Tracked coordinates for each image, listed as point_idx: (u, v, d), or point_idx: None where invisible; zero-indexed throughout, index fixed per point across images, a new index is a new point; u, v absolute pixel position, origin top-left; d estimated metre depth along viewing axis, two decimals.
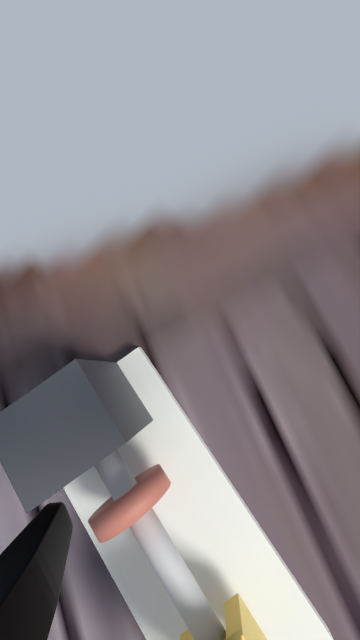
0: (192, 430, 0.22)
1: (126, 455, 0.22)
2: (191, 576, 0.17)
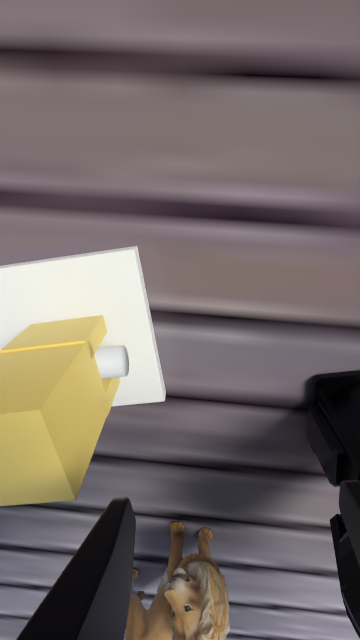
0: None
1: None
2: None
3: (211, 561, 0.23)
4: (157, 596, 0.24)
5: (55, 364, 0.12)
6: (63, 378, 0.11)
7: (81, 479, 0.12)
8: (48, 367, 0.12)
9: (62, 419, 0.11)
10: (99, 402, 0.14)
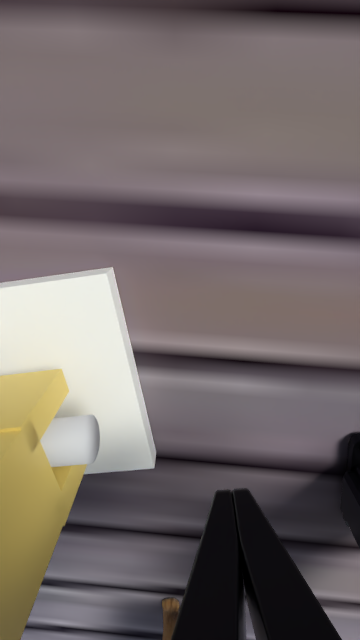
0: None
1: None
2: None
3: None
4: None
5: None
6: None
7: None
8: None
9: None
10: (48, 513, 0.09)
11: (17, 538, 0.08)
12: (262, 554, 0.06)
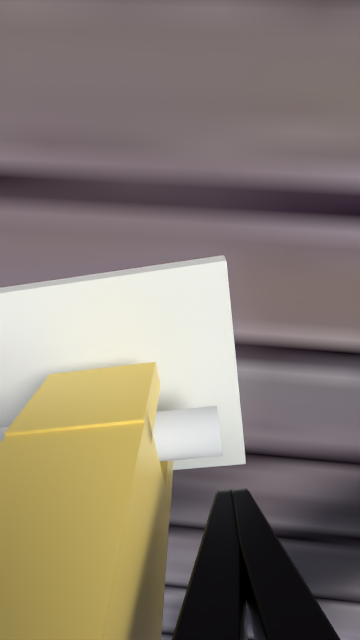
0: None
1: None
2: None
3: None
4: None
5: (104, 479, 0.07)
6: (126, 522, 0.06)
7: None
8: (93, 486, 0.07)
9: (129, 613, 0.05)
10: (162, 509, 0.09)
11: (151, 533, 0.08)
12: (261, 554, 0.06)
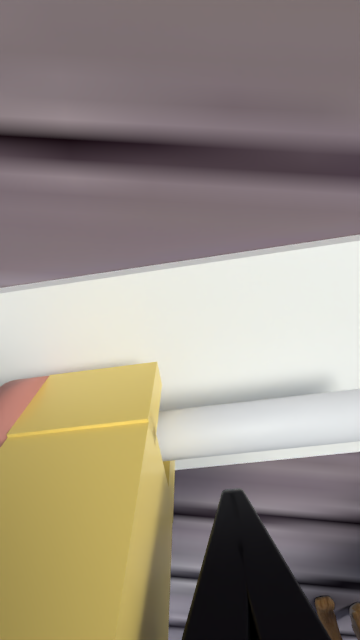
0: (6, 294, 0.12)
1: None
2: (178, 417, 0.10)
3: None
4: None
5: (110, 478, 0.07)
6: (134, 521, 0.06)
7: None
8: (100, 485, 0.07)
9: (139, 613, 0.05)
10: (166, 509, 0.09)
11: (157, 533, 0.08)
12: (254, 555, 0.06)
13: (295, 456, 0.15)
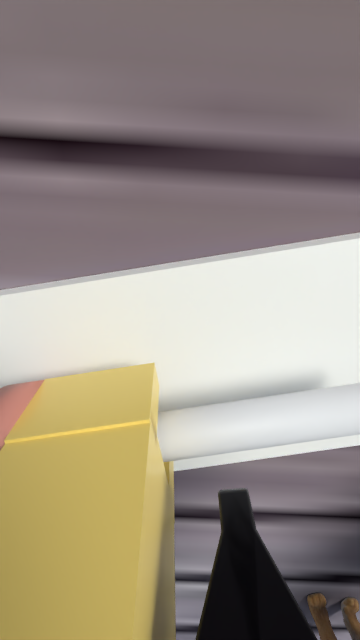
0: None
1: None
2: (177, 417, 0.10)
3: None
4: None
5: (115, 480, 0.07)
6: (143, 521, 0.06)
7: None
8: (105, 488, 0.07)
9: (151, 613, 0.05)
10: (168, 509, 0.09)
11: (162, 534, 0.08)
12: (244, 555, 0.06)
13: (290, 453, 0.15)
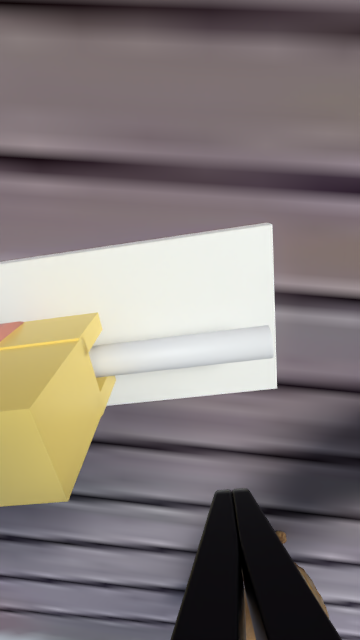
0: None
1: None
2: (107, 346, 0.15)
3: (296, 565, 0.22)
4: None
5: (48, 362, 0.12)
6: (55, 376, 0.11)
7: (74, 479, 0.11)
8: (41, 365, 0.12)
9: (54, 418, 0.10)
10: (94, 401, 0.14)
11: (80, 402, 0.13)
12: (262, 554, 0.06)
13: (212, 393, 0.20)
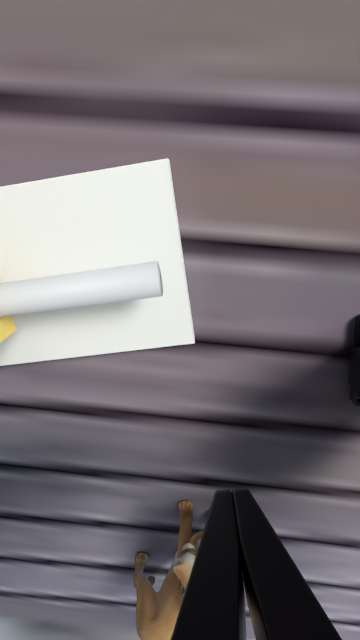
0: None
1: None
2: None
3: None
4: (167, 577, 0.23)
5: None
6: None
7: None
8: None
9: None
10: None
11: None
12: (262, 554, 0.06)
13: (128, 349, 0.19)
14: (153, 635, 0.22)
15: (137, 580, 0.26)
